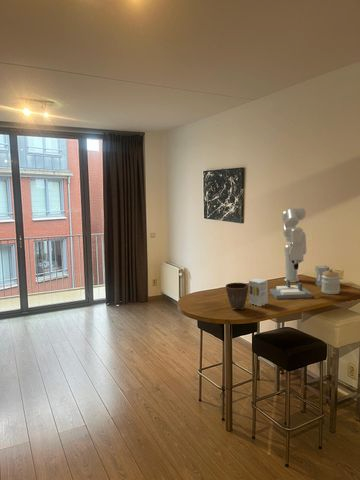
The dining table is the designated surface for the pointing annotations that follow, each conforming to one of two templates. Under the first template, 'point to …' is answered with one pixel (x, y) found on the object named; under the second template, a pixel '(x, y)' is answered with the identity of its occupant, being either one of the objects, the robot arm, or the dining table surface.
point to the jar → (330, 282)
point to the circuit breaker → (320, 274)
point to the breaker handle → (299, 286)
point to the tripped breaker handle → (287, 282)
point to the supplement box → (258, 292)
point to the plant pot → (237, 294)
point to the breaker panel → (279, 296)
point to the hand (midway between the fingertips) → (296, 269)
